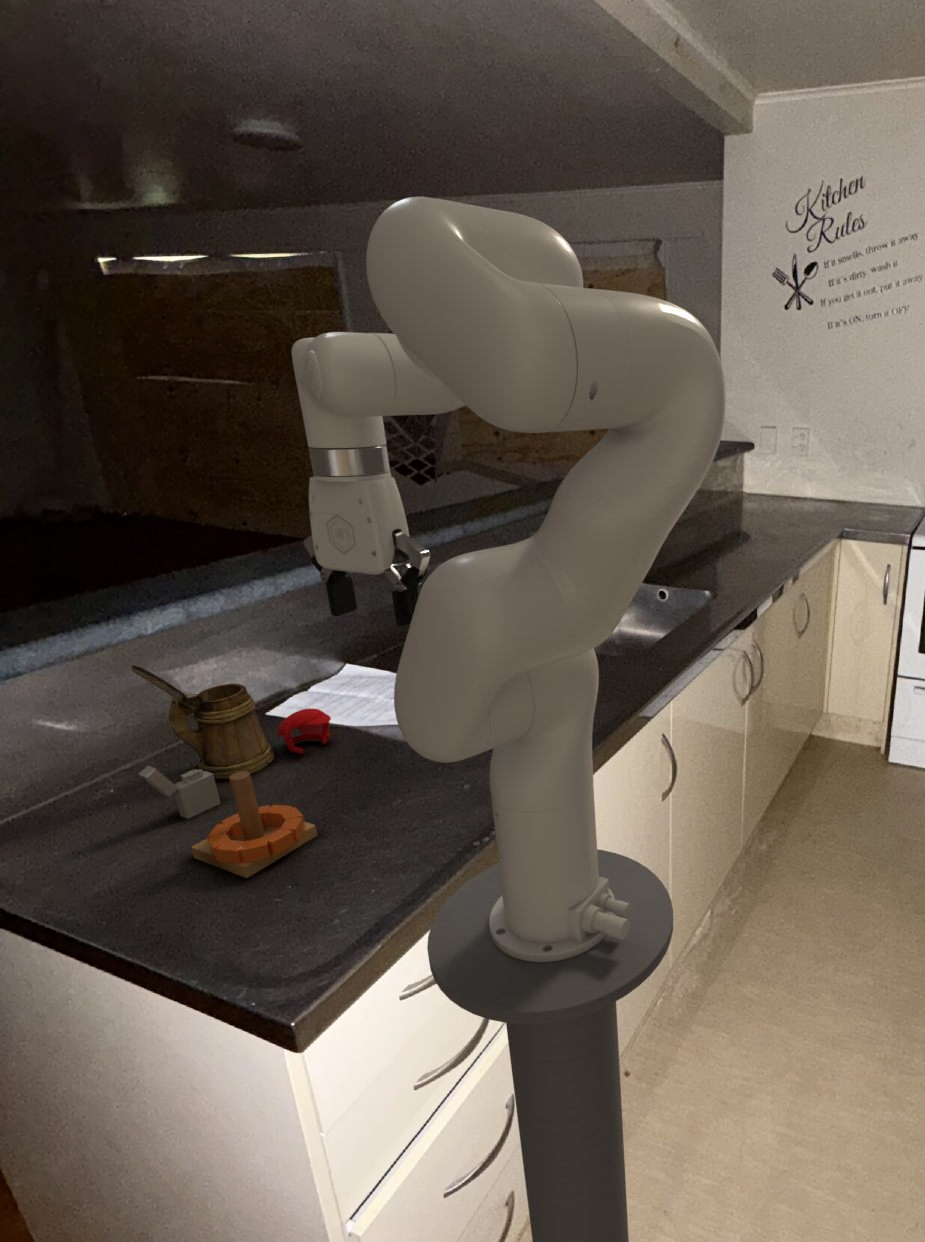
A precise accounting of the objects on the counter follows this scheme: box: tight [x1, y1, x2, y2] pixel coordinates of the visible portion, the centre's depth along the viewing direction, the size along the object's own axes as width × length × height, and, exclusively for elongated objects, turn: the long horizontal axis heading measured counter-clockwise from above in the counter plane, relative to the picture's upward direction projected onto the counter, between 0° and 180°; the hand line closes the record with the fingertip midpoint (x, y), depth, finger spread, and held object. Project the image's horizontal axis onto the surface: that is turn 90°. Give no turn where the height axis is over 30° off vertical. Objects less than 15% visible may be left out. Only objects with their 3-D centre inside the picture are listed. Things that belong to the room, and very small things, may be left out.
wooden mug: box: [131, 664, 275, 781], centre depth 101 cm, size 9×14×18 cm, turn 148°
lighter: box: [138, 765, 221, 819], centre depth 92 cm, size 7×2×8 cm, turn 153°
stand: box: [190, 771, 318, 879], centre depth 86 cm, size 9×9×10 cm
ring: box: [206, 804, 305, 864], centre depth 86 cm, size 9×10×2 cm
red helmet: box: [276, 708, 332, 755], centre depth 110 cm, size 8×6×6 cm
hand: (376, 617), depth 85 cm, fingers open, 9 cm apart
